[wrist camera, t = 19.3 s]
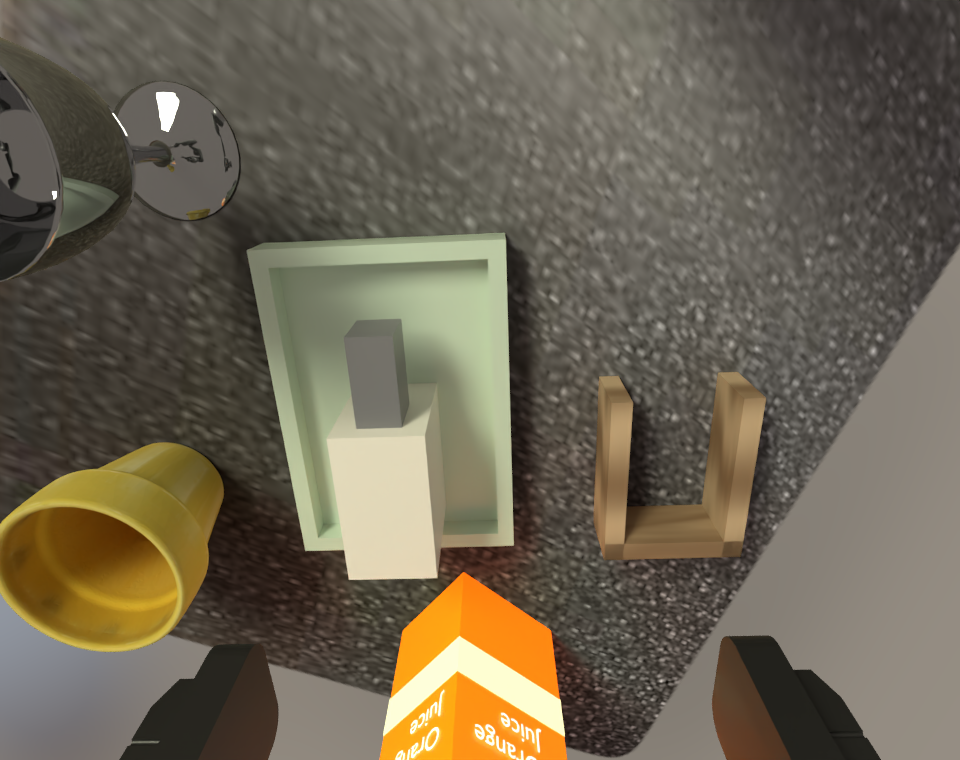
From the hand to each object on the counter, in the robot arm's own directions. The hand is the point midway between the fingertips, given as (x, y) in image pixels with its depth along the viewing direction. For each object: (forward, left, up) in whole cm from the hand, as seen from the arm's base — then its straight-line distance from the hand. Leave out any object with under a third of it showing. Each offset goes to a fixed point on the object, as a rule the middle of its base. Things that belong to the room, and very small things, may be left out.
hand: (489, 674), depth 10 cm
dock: (+10, +11, -26) cm, 30 cm away
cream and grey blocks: (+7, -6, -25) cm, 27 cm away
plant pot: (+12, -22, -26) cm, 36 cm away
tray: (+6, -6, -26) cm, 27 cm away
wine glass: (-9, -17, -26) cm, 33 cm away
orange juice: (+26, -2, -26) cm, 37 cm away
